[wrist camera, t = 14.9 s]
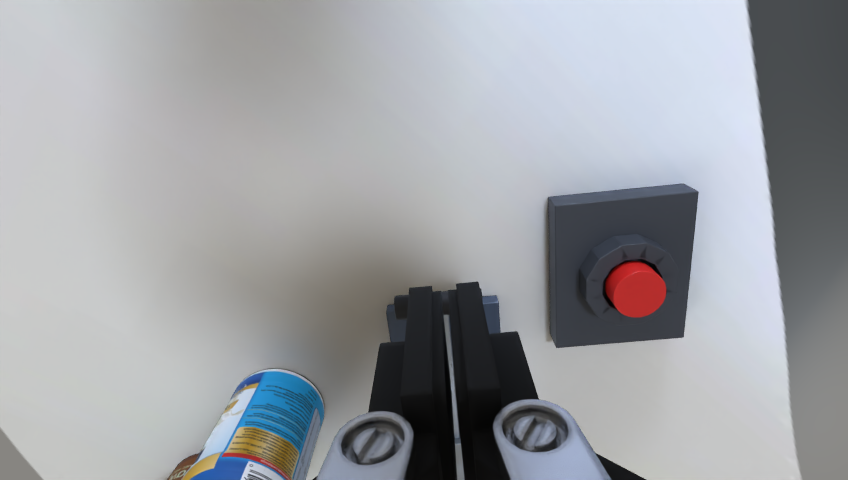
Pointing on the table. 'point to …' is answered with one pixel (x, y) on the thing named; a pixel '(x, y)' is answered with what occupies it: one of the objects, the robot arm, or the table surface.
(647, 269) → the stop button
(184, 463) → the food container
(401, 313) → the switch lever
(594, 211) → the button housing
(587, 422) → the table surface
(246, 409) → the beverage bottle
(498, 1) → the table surface
